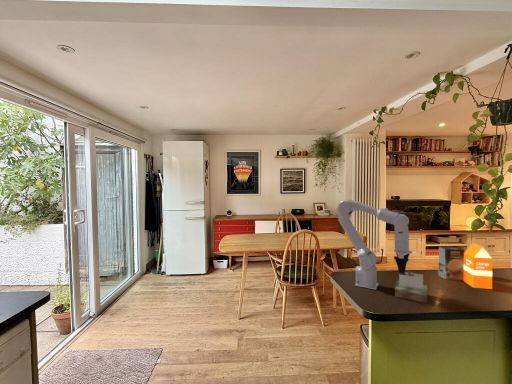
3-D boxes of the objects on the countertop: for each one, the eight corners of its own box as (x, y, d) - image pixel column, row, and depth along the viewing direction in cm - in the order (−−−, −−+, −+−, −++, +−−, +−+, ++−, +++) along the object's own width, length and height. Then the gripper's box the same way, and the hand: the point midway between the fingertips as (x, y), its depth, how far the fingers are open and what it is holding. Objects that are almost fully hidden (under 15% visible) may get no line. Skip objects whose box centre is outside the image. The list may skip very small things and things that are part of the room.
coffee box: (445, 279, 131) (445, 249, 131) (438, 275, 137) (438, 246, 137) (464, 280, 130) (464, 249, 130) (455, 276, 136) (456, 246, 136)
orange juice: (473, 287, 121) (473, 246, 120) (463, 280, 129) (463, 242, 129) (492, 289, 119) (493, 247, 118) (481, 282, 127) (481, 243, 127)
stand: (394, 296, 111) (394, 287, 111) (396, 288, 120) (396, 280, 120) (427, 303, 105) (427, 293, 105) (427, 294, 113) (427, 285, 113)
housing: (399, 286, 113) (399, 272, 113) (399, 282, 117) (399, 269, 117) (423, 290, 108) (423, 276, 108) (423, 286, 112) (423, 273, 112)
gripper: (411, 244, 107) (412, 276, 107) (412, 239, 119) (413, 267, 119) (392, 243, 110) (393, 274, 110) (395, 237, 123) (396, 265, 123)
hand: (402, 270), depth 115 cm, fingers open, 7 cm apart
